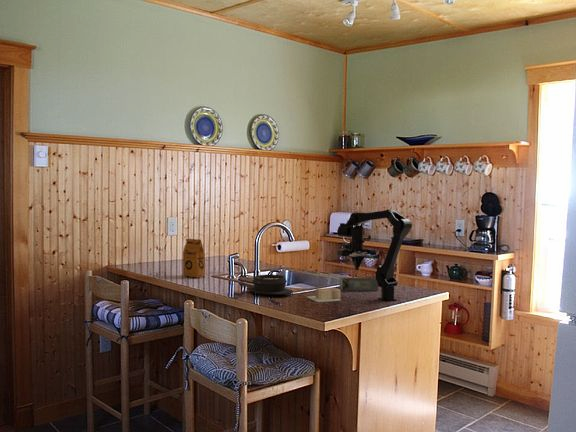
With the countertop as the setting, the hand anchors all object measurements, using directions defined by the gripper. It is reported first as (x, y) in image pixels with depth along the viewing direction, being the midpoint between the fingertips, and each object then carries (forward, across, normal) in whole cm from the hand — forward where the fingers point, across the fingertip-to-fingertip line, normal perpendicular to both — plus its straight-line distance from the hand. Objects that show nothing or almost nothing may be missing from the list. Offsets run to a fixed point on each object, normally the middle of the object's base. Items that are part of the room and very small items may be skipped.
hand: (356, 269), depth 271 cm
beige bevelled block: (+10, +13, +6) cm, 17 cm away
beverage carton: (+12, -8, -12) cm, 19 cm away
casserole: (+12, +40, -14) cm, 44 cm away
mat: (+12, +20, +6) cm, 24 cm away
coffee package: (+12, +65, -74) cm, 99 cm away
